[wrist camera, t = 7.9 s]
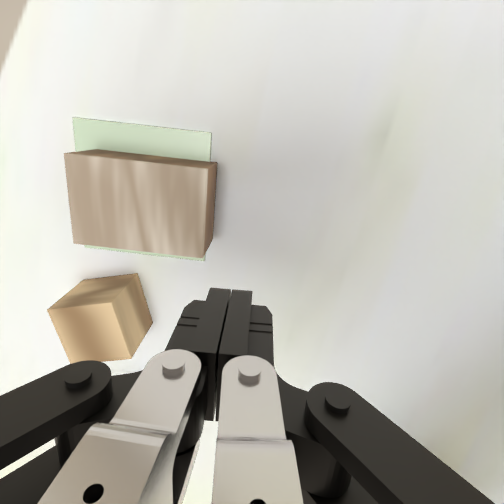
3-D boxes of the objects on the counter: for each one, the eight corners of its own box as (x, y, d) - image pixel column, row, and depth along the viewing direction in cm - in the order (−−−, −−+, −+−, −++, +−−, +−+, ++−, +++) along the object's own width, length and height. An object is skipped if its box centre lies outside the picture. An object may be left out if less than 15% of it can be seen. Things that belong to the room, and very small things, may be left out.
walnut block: (207, 169, 20) (63, 153, 20) (202, 258, 22) (73, 243, 22) (217, 162, 24) (96, 149, 24) (212, 239, 26) (101, 226, 26)
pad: (211, 132, 23) (210, 132, 23) (204, 260, 27) (204, 261, 27) (74, 117, 23) (72, 117, 23) (85, 246, 27) (84, 247, 27)
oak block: (138, 272, 28) (111, 302, 23) (153, 322, 30) (131, 358, 25) (83, 279, 28) (46, 309, 24) (101, 327, 30) (71, 364, 25)
